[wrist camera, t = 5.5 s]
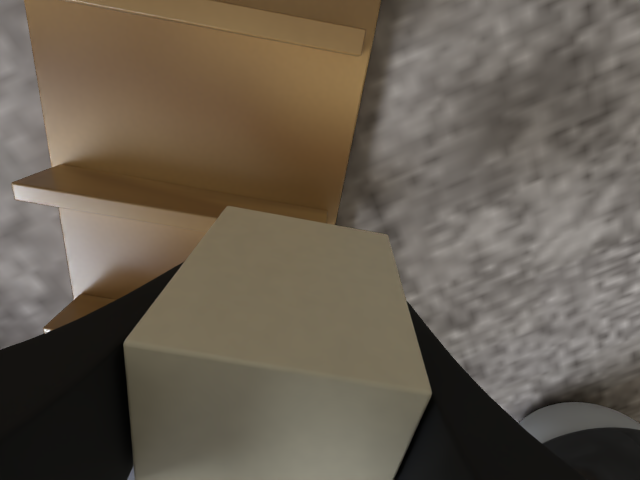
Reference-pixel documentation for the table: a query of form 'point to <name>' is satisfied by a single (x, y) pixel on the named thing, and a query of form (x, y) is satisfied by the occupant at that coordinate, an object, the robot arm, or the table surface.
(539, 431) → the black rounded egg shape
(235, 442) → the block
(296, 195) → the dish rack
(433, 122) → the table surface
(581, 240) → the table surface
